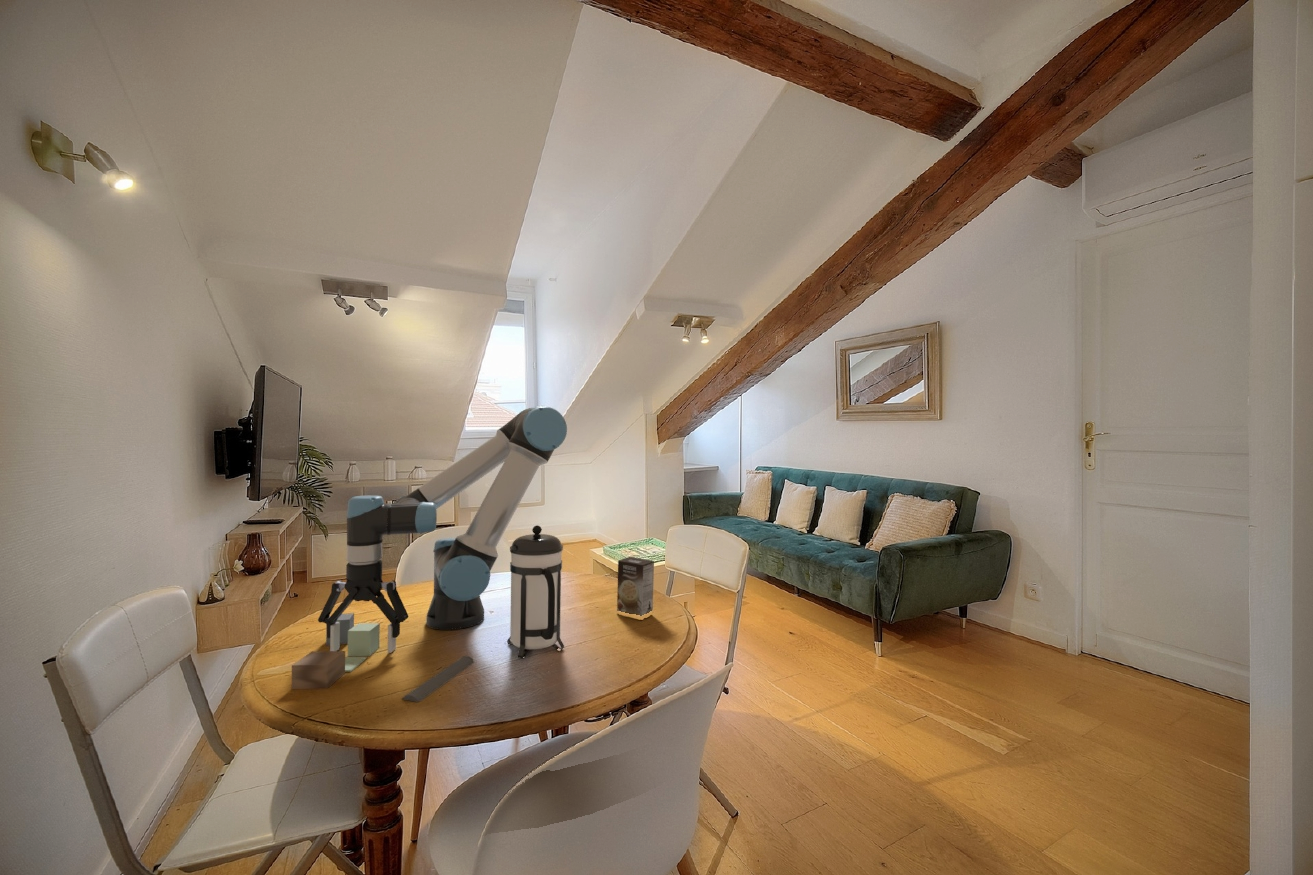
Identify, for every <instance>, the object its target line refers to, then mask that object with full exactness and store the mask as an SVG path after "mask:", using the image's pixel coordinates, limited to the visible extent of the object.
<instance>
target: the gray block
mask: <svg viewBox="0 0 1313 875" xmlns="http://www.w3.org/2000/svg"><path fill="white" fill-rule="evenodd" d="M336 622H340V645H348V630H350V629H351V628H353V627H354V626H355V612H351V613H342V614H341V615H340V617H339V618H338V619H337V621H335V623H336ZM325 625H326V624H325ZM325 637H326V639H325V640H326V641H325V645H326V646H330V638H327V625H326V634H325Z"/></svg>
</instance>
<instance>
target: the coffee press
mask: <svg viewBox="0 0 1313 875" xmlns="http://www.w3.org/2000/svg"><path fill="white" fill-rule="evenodd" d="M542 530H543V529H542V527H541V526H540V525H538V524H537V525H534V526H533V527H532V529H531V531H532V533H533V534H525V535H522V536H519V537H517V538H515V539H514V540H513V542H512V544H511V546H509V552H510V553H511V554H510V556H511V558H510V559H511V561H510V562H509V563H510V565H509V566H510V568H509V570H510V622H509V623H510V626H509V627H510V629H509V630H510V632H509V633H510V635H509V637H508V639H507V641H506V643H507V645H509V644H510V645H509V646H512V645H513V646H515V647H516V648H518V651H517V656H516V657H517V658H518V659H523V657H526V655H527V653H528V652H529V650H541V649H545V648H548V647H553V648H554V649H555V650H556V651H557V649H558V648H560V649H561V651H563V650H564V649H563V648H565V644H564V642H563V641H562V640H561V617H562V616H561V611H562V610H561V608H562V605H561V604H562V569H563V560H562V552H563V550H564V545H563V544H562V543H561V540H560V538H558V537H557V536H555V535H551V534H547V533H546V534H544V533H542ZM557 642H558V644H556V643H557ZM559 646H560V647H559ZM562 649H563V650H562Z"/></svg>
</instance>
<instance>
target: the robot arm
mask: <svg viewBox="0 0 1313 875" xmlns="http://www.w3.org/2000/svg"><path fill="white" fill-rule="evenodd" d="M567 426H568V425H567V422H566V420H565V417H564V416H563V414H562V413H561V412H559V411H558V410H557V409H556V408H553V407H550V406H546V405H538V406H535V407H534V406H533V407H528V408H525V409H523V410H522V411H520V412H519V413H517V415H515V416H514V417H513V418H511V420H509V421H508V422H507V423H505V424H504V425H503V426H501V427H500V428H498V429H497V430H496V434H495V436H493V437H492V438H490V439H488V440H487V441H486V442H484V443H483V444H481V445H480V446H478V447H477V448H475V449H474V450H472V451H470V453H468V454H466V455H465V456H463V457H462V458H461V459H459V460H457V461H456V462H455V463H453V464H451V465H450V466H449V467H447V468H446V469H444V470H443V471H441V472H440V473H438V474H437V475H435V476H434V477H432V478H431V479H430V480H427V481H426V482H425V483H424V484H422V485H420V486H418V487H417V489H415V490H413V491H411V492H410V493H408V494H407V495H404V496H402V497H400V498H399V499H397V501H396V502H395V503H385V501H384V497H383V496H381V495H374V494H373V495H372V494H371V495H368V494H366V495H365V494H364V495H356V496H353V497H351V498H350V499H348V501H347V511H346V559H345V560H346V561H347V562H348V563H347V564H346V569H345V570H346V573H345V575H346V582H344V581H342V580H339V579H338V580H337V581H335V582H334V583H332V584H331V591H330V594H329V597H328V599H327V601H326V602H325V604H324V606H323V608H322V610H321V612H320V615H319V616H318V619H317V622H318V623H324V624H325V625H327V638H330V645H329V651H340V648H341V646H340V645H341V644H340V622H336V623H335V621H337V619H338V618H339V617H340V615H341V614H344V612H345V610H346V609H347V608H348V607H349V606H350V605H351V603H353V601H355V602H361V601H363V602H370V601H371V603H373V604H375V605H376V606H377V608H378V609H379V610H380V611H381V612H382V614H383V615H384V617H386V619H387V620H388V621H389V622H390V623H389V624H388V625H387V654H392V653H393V651H395V650H396V649H397V638H398V637H399V636H400V634H401V633H400V632H401V631H400V630H401V629H400V628H401V623H403V622H405V621H406V620H407V619H408V618H409V614H408V612H407V610H406V607H405V606H404V603H403V600H402V598H401V596H400V594H399V592H398V590H397V582H396V580H395V579H393V580H391V581H387V582H386V581H383V578H382V577H383V561H382V560H381V559H382V558H383V540H384V539H383V538H384V537H383V536H390V535H406V534H409V535H410V534H419V535H420V534H421V535H422V534H424V533H432V532H434V531H436V528H437V516H438V514H437V512H438V510H437V509H439V508H440V507H441V506H443V505H444V504H446V503H448V502H449V501H450V500H452V499H453V498H454V497H456V496H457V495H458V494H460V493H462V492H463V491H465V490H466V489H468V488H469V487H470V486H472V485H473V484H474V483H476V482H477V481H479V480H480V479H482V478H483V477H485V476H486V475H487V474H489V473H490V472H492V471H493V470H495V469H496V468H498V467H499V466H500V465H502V466H501V468H500V469H499V471H498V473H497V475H496V476H495V479H494V480H493V482H492V484H491V486H490V487H489V489H488V491H487V493H486V495H485V497H484V499H483V500H482V503H481V504H480V505H479V508H478V510H477V511H476V513H475V515H474V517H473V519H471V520H472V521H471V522H470V524H469V526H468V528H467V529H466V531H465V532H464V533H463V534H461V535H460V534H459V535H457V536H456V537H452V538H442V539H438V540H436V541H435V542H434V546H433V547H434V548H433V554H434V556H433V559H434V560H433V563H434V564H433V596H432V598H431V601H430V605H429V607H428V610H427V613H426V616H425V617H426V619H425V620H426V622H425V623H426V626H427V627H429V628H431V629H434V630H439V631H441V630H442V631H452V630H460V629H467V628H470V627H473V626H476V625H478V624H480V623H482V622H483V621H484V619H485V608H484V605H483V601H482V600H481V596H480V595H482V594H483V593H484V592H485V591H486V589H487V588H488V586H489V584H490V580H491V570H492V569H493V566H494V565H495V563H496V561H497V558H498V557H499V554H498V550H497V546H498V545H499V543H500V541H501V538H502V537H503V535H504V533H505V531H506V529H507V528H508V525H509V523H510V522H511V519H512V518H513V516H514V515H515V512H516V510H517V509H518V507H519V505H520V503H521V501H522V499H523V497H524V495H525V493H526V492H527V491H528V490H527V489H528V487H530V484H531V482H532V480H533V479H534V478H535V475H536V473H537V471H538V469H539V467H540V466H542V465H546V464H547V463H548V462H549V460H550V458H551V456H552V455H553V453H554V451H555V450H556V449H558V448H559V447H560V446H561V445H562V444H563V443H564V441H565V439H566V437H567V435H568V434H567V432H568V427H567ZM383 589H384V591H385V592H386V595H387V597H388V598H389V601H390V602H388V600H387V599H386V598H385V595H384V593H383V592H382V590H383ZM344 590H345V591H346V592H347V594H346V595H347V596H345V597H344V599H343V601H342V602H340V604H339V606H337V608H336V609H335V610H334V611H333V609H334V607H335V605H336V604H337V601H338V600H339V597H340V595H341V593H342V591H344ZM390 603H391V604H390ZM332 611H333V613H332Z"/></svg>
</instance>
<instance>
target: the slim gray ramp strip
mask: <svg viewBox="0 0 1313 875" xmlns="http://www.w3.org/2000/svg"><path fill="white" fill-rule="evenodd" d="M474 663H475V661H474V659H473V657H471V656H469V655H463V656H462V657H460V658H458V659H457V660H456V661H454V662H453V663H452V664H450V665H448V666H447V667H445V668H444V669H442V670H441V671H440V672H438V673H437V674H435V675H434V676H432V677H430V678H429V679H428V680H426V681H424V682H423V683H422V684H420V685H419V686H418V687H415V688H414V689H413V690H411V691H410V692H408V693H407V694H406V695H403V696H402V698H401V700H404V701H410V702H417V703H419V702H422V701H423V700H424V699H425V698H427V697H428V696H429V695H431V694H433V693H434V692H436V691H437V690H438V689H440V688H441V687H442V686H444V685H445V684H446V683H448V682H449V681H451V680H452V679H454V678H455V677H456V676H457V675H458V674H460V673H461V672H463V671H464V670H465V669H467V668H468V667H470V666H472V665H473V664H474Z"/></svg>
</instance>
